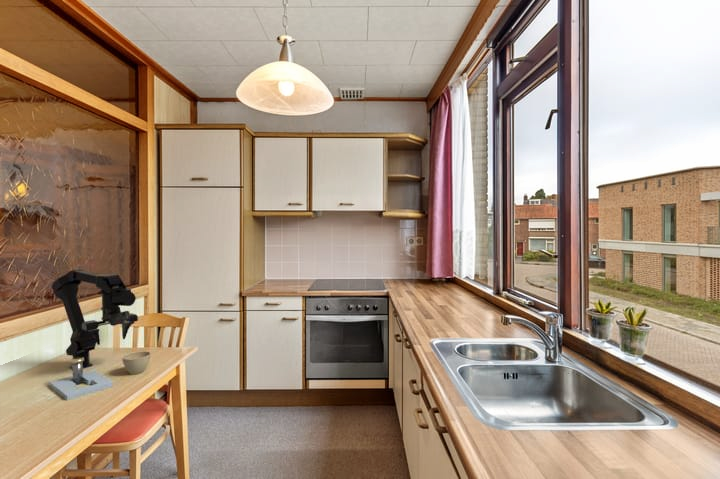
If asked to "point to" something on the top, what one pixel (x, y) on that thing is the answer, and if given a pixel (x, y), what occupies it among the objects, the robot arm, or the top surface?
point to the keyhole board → (70, 391)
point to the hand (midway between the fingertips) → (111, 341)
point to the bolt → (77, 370)
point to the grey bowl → (136, 361)
